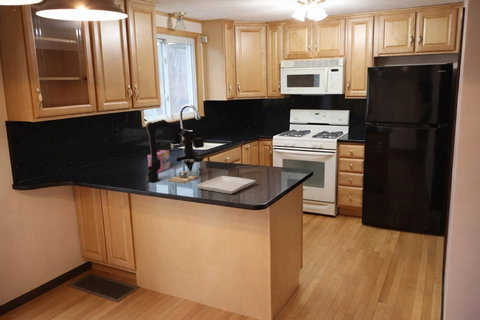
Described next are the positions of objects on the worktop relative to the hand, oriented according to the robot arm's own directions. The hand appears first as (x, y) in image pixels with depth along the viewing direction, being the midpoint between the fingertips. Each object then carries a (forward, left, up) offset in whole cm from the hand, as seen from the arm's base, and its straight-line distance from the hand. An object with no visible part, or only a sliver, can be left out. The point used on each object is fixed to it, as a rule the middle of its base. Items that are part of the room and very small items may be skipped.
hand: (190, 171), depth 278 cm
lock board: (-9, 0, -4) cm, 9 cm away
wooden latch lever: (-5, +1, -2) cm, 5 cm away
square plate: (-13, -38, -5) cm, 40 cm away
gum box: (+9, +38, -5) cm, 39 cm away
